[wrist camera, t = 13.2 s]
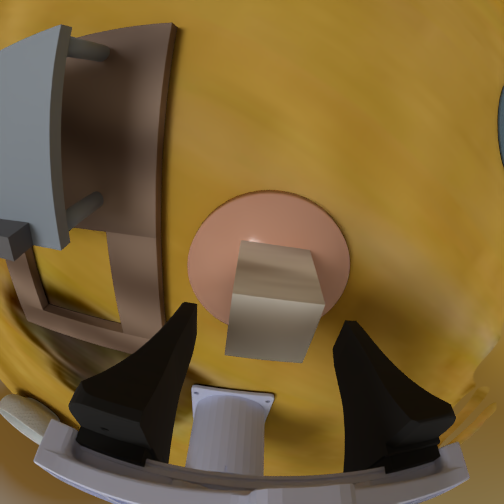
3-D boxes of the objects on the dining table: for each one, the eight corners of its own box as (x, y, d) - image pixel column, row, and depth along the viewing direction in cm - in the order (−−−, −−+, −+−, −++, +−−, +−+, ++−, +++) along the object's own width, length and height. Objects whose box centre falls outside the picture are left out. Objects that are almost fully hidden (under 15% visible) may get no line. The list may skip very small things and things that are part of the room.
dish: (322, 330, 20) (324, 339, 20) (190, 314, 20) (187, 323, 19) (364, 205, 16) (370, 211, 15) (194, 179, 15) (190, 184, 14)
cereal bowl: (-3, 371, 32) (-18, 396, 26) (52, 397, 32) (37, 430, 26) (36, 417, 40) (26, 439, 34) (91, 440, 40) (82, 467, 34)
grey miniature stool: (107, 211, 15) (41, 268, 9) (6, 202, 14) (-51, 241, 9) (114, 40, 10) (36, 19, 4) (4, 72, 10) (-64, 82, 4)
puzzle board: (168, 352, 22) (166, 361, 22) (32, 314, 22) (27, 320, 21) (177, 27, 11) (172, 22, 10) (-2, 70, 10) (-11, 70, 10)
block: (294, 303, 18) (301, 362, 14) (233, 295, 18) (224, 354, 13) (309, 249, 16) (325, 304, 12) (240, 239, 16) (232, 293, 12)
